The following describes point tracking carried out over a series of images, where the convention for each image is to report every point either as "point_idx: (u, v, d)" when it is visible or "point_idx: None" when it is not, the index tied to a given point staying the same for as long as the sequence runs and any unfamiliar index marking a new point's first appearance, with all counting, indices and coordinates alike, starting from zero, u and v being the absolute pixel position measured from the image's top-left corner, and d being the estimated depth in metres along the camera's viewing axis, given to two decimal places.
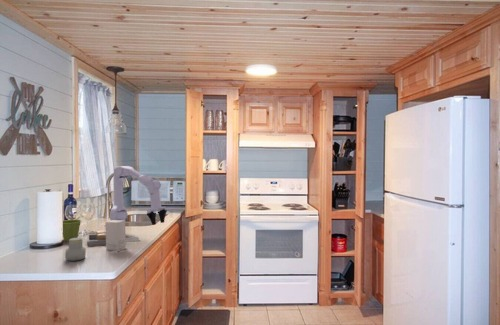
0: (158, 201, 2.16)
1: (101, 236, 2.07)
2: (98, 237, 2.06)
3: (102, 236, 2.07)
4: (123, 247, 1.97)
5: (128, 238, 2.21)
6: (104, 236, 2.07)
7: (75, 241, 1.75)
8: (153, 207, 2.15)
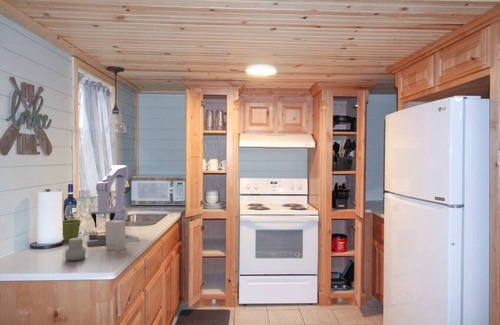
0: (102, 204, 2.05)
1: (101, 236, 2.07)
2: (98, 237, 2.06)
3: (102, 236, 2.07)
4: (123, 247, 1.97)
5: (128, 238, 2.21)
6: (104, 236, 2.07)
7: (75, 241, 1.75)
8: (98, 209, 2.07)
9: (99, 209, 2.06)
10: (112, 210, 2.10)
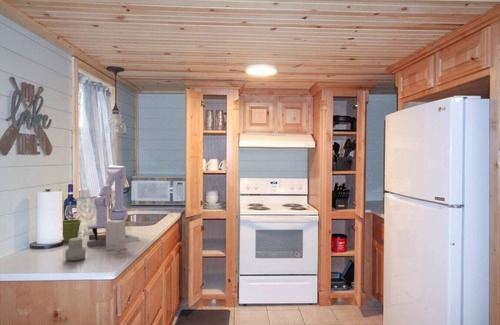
0: (100, 219, 2.06)
1: (101, 236, 2.07)
2: (98, 237, 2.06)
3: (102, 236, 2.07)
4: (123, 247, 1.97)
5: (128, 238, 2.21)
6: (104, 236, 2.07)
7: (75, 241, 1.75)
8: (96, 224, 2.07)
9: (97, 224, 2.06)
10: None
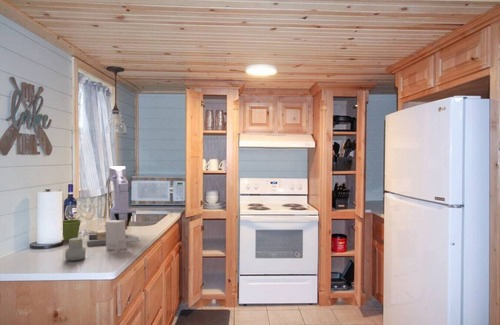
0: (122, 204, 2.13)
1: None
2: None
3: None
4: (123, 247, 1.97)
5: (128, 238, 2.21)
6: (125, 222, 2.14)
7: (75, 241, 1.75)
8: (118, 209, 2.15)
9: (119, 209, 2.14)
10: (131, 210, 2.18)
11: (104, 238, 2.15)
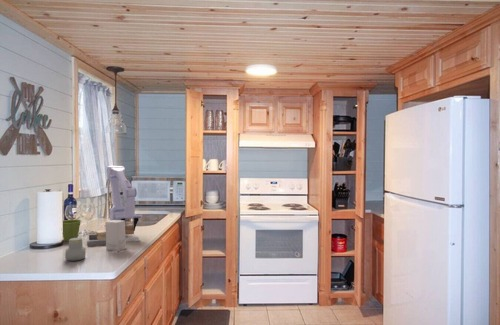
0: (129, 210, 2.16)
1: (129, 227, 2.16)
2: (126, 228, 2.16)
3: (130, 227, 2.16)
4: (123, 247, 1.97)
5: (128, 238, 2.21)
6: (132, 227, 2.17)
7: (75, 241, 1.75)
8: (124, 214, 2.17)
9: (126, 214, 2.16)
10: (138, 215, 2.20)
11: (104, 238, 2.15)
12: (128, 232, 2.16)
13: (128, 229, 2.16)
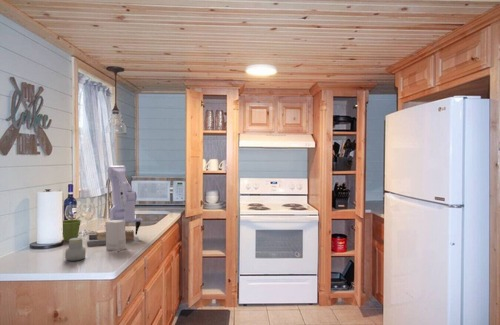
0: (128, 213, 2.16)
1: (129, 233, 2.16)
2: (126, 233, 2.16)
3: (130, 233, 2.17)
4: (123, 247, 1.97)
5: None
6: (132, 233, 2.17)
7: (75, 241, 1.75)
8: (124, 218, 2.17)
9: (126, 218, 2.16)
10: (138, 219, 2.20)
11: (104, 238, 2.15)
12: (128, 238, 2.16)
13: (128, 235, 2.16)
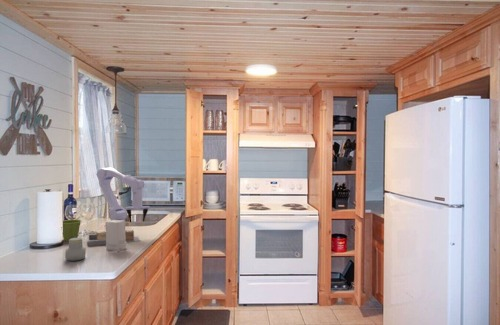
0: (136, 201, 2.23)
1: (129, 233, 2.16)
2: (126, 233, 2.16)
3: (130, 233, 2.17)
4: (123, 247, 1.97)
5: None
6: (132, 233, 2.17)
7: (75, 241, 1.75)
8: (132, 205, 2.25)
9: (133, 205, 2.23)
10: (145, 206, 2.28)
11: (104, 238, 2.15)
12: (128, 238, 2.16)
13: (128, 235, 2.16)
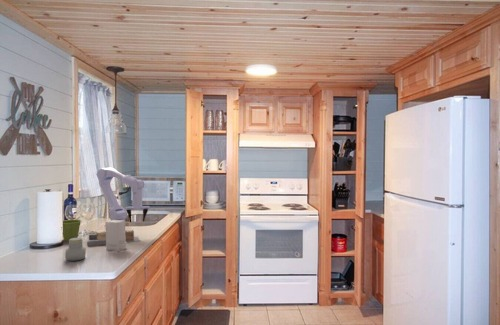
0: (136, 201, 2.23)
1: (129, 233, 2.16)
2: (126, 233, 2.16)
3: (130, 233, 2.17)
4: (123, 247, 1.97)
5: None
6: (132, 233, 2.17)
7: (75, 241, 1.75)
8: (132, 205, 2.25)
9: (133, 205, 2.23)
10: (145, 206, 2.28)
11: (104, 238, 2.15)
12: (128, 238, 2.16)
13: (128, 235, 2.16)
